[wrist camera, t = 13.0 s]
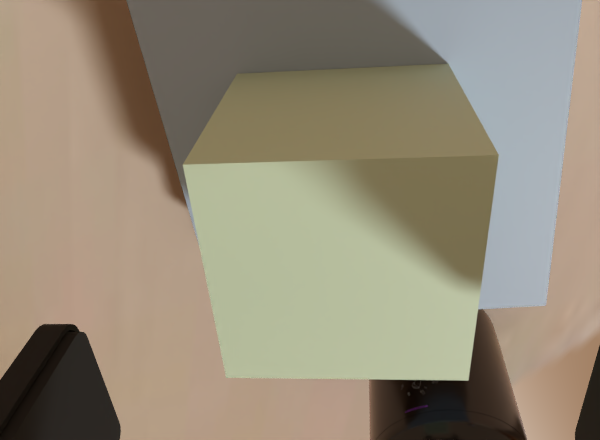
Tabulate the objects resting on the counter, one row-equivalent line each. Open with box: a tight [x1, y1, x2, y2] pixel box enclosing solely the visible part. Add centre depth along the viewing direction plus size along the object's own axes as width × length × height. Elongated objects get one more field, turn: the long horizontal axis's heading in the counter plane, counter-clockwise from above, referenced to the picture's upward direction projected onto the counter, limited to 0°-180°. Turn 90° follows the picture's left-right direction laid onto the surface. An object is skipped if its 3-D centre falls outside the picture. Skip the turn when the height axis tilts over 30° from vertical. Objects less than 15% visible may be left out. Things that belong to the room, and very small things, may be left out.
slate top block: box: [126, 0, 582, 309], centre depth 19 cm, size 12×12×4 cm
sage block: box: [183, 64, 499, 381], centre depth 14 cm, size 6×6×6 cm
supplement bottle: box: [369, 309, 527, 440], centre depth 25 cm, size 7×7×12 cm
